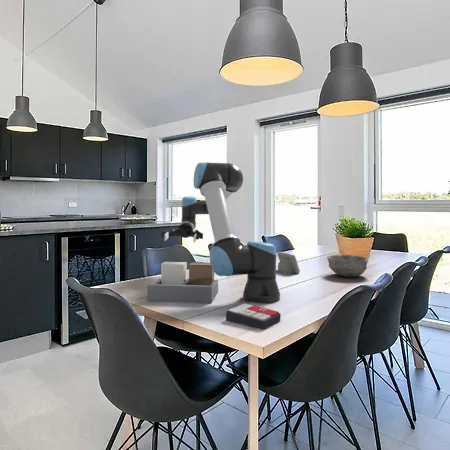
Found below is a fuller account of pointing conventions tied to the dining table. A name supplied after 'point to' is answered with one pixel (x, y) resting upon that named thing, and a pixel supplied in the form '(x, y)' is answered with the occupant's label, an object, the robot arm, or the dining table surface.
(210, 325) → the dining table surface
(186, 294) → the grey tray
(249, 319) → the calculator
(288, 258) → the grey lumpy piece
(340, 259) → the bowl
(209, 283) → the brown block
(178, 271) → the light grey block
